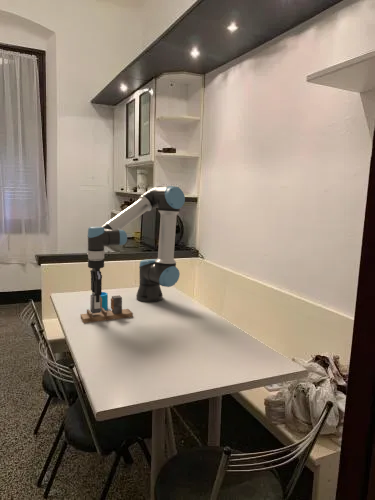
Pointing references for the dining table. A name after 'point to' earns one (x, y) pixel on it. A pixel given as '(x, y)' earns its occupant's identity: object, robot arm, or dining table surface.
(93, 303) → the dark grey upright block
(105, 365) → the dining table surface
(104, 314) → the rail
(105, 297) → the mug
